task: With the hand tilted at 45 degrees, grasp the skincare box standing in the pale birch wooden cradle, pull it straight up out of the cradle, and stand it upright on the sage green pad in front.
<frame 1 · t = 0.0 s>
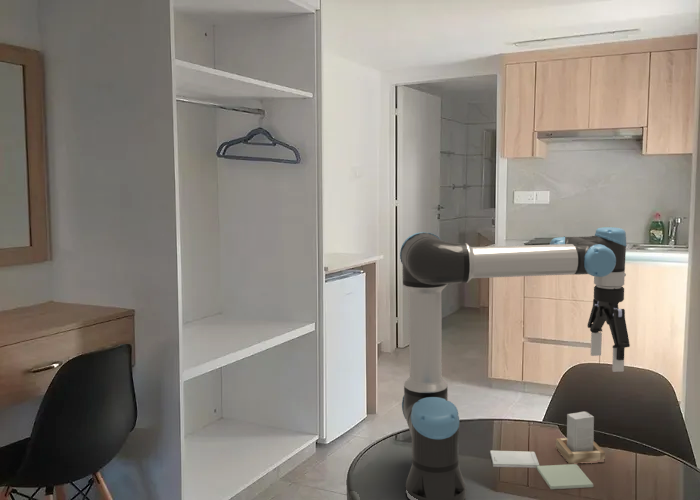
hand: (606, 363, 178), 28 cm above the table, tool pointing down, fingers open, 13 cm apart
pad: (564, 477, 173), on the table
cradle: (579, 455, 186), on the table
hard drive: (513, 462, 184), on the table
skincare box: (579, 456, 186), resting in cradle
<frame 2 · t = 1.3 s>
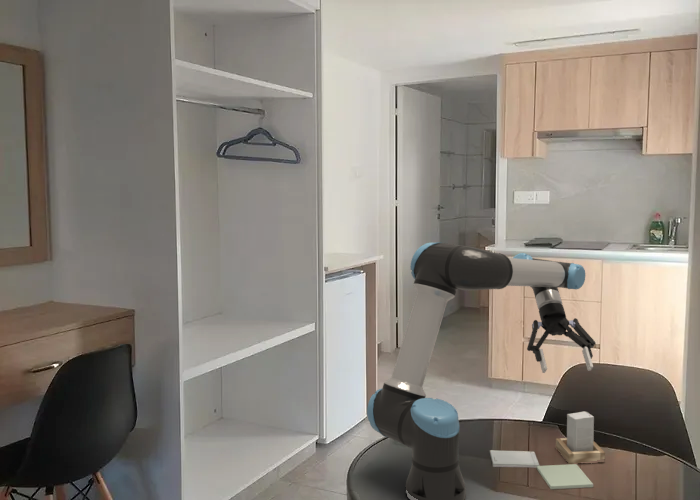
hand: (567, 369, 193), 21 cm above the table, tool tilted 45°, fingers open, 13 cm apart
nothing on the table moved.
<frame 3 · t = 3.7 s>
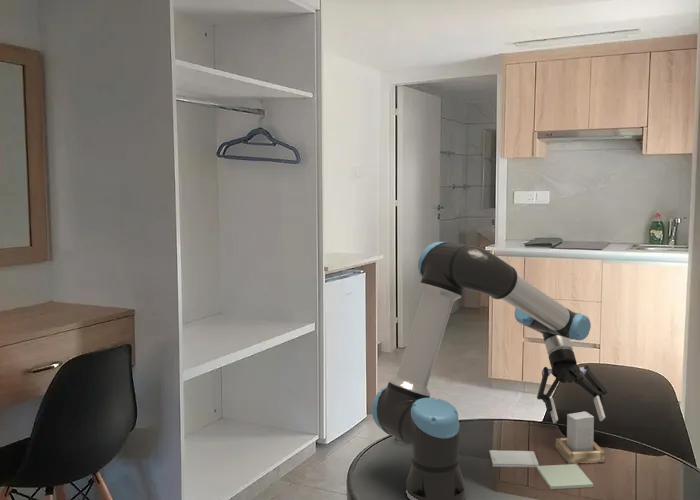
hand: (579, 420, 187), 9 cm above the table, tool tilted 45°, fingers open, 13 cm apart
nothing on the table moved.
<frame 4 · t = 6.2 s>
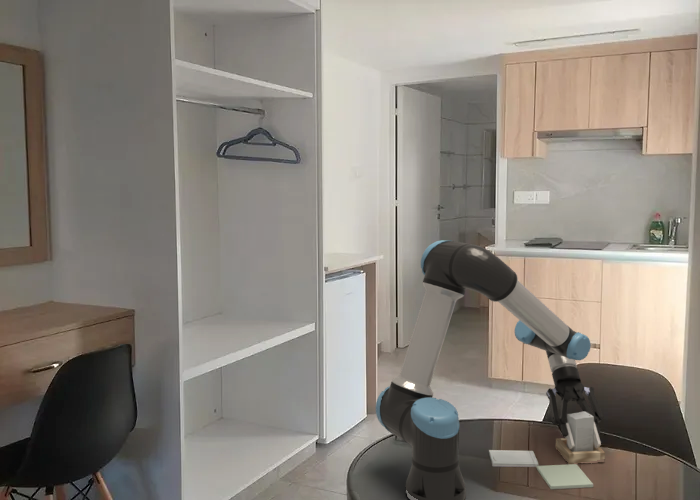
hand: (585, 446, 181), 4 cm above the table, tool tilted 45°, fingers closed on skincare box, 7 cm apart
skincare box: (579, 456, 186), resting in cradle, touching gripper
everything else where it was.
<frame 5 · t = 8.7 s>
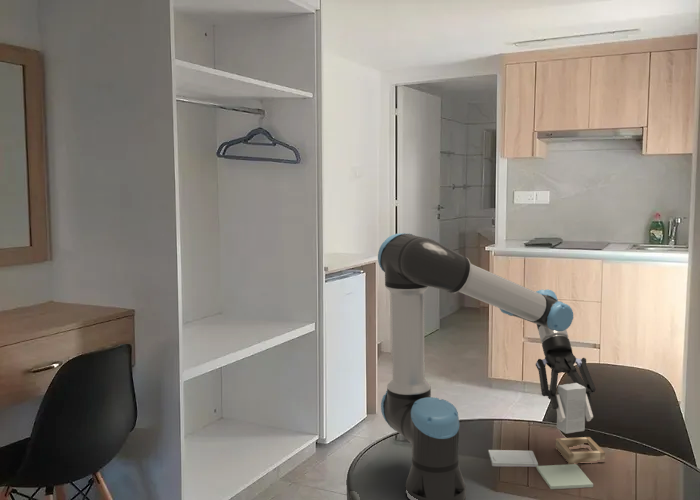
hand: (576, 419, 171), 16 cm above the table, tool tilted 45°, fingers closed on skincare box, 7 cm apart
skincare box: (570, 430, 175), point 12 cm above the table, touching gripper
everything else where it was.
when the fingers open (6 cm above the table, at t = 11.6 s): skincare box drops 1 cm, resting on pad.
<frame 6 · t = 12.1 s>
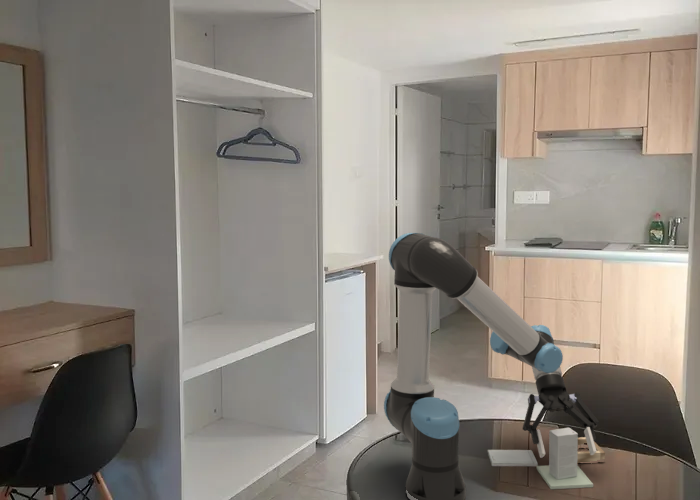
hand: (568, 454, 170), 8 cm above the table, tool tilted 45°, fingers open, 13 cm apart
skincare box: (562, 475, 173), point 1 cm above the table, touching pad
everything else where it was.
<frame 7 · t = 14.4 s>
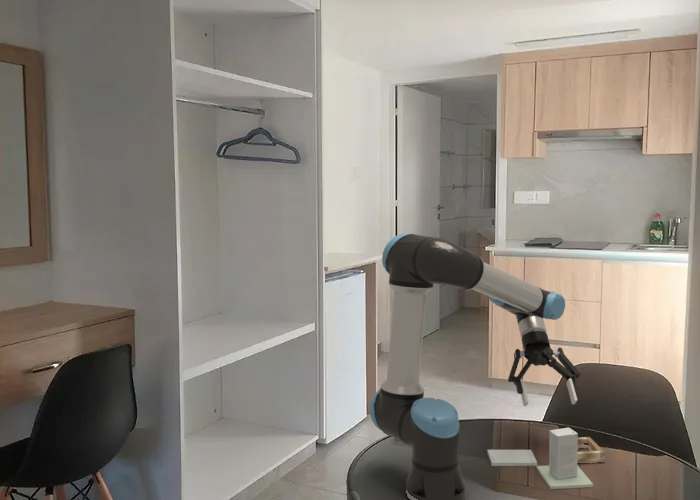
hand: (550, 403, 182), 16 cm above the table, tool tilted 45°, fingers open, 13 cm apart
nothing on the table moved.
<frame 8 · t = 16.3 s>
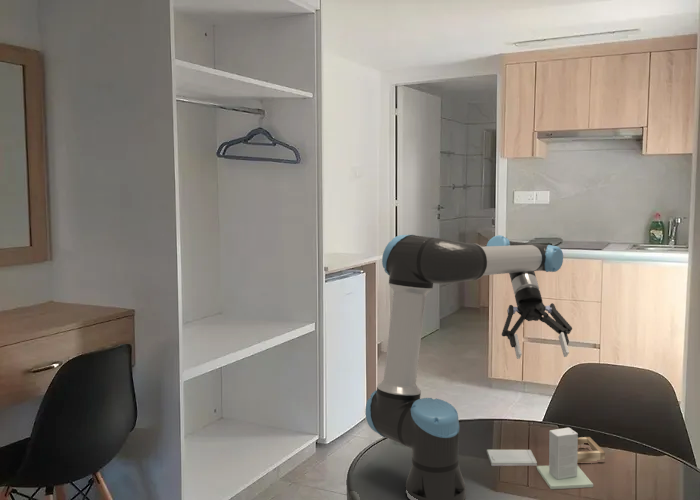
hand: (543, 355, 187), 28 cm above the table, tool tilted 45°, fingers open, 13 cm apart
at the end: skincare box inside the target area on the pad (0.4 cm from its centre), point 0.6 cm above the pad's base; skincare box tilted 0°; the gripper is holding nothing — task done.
